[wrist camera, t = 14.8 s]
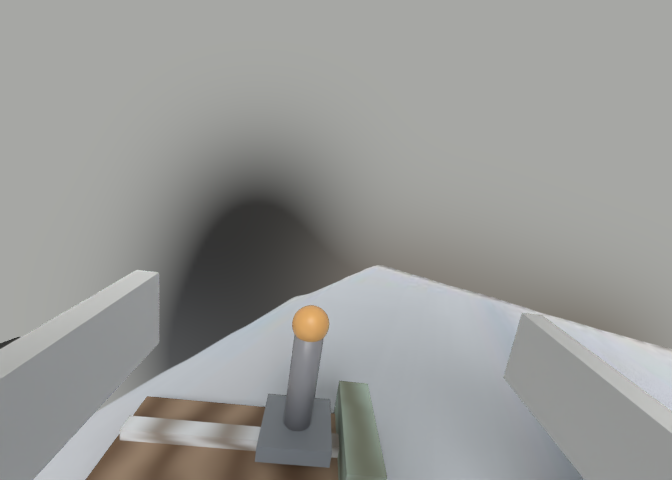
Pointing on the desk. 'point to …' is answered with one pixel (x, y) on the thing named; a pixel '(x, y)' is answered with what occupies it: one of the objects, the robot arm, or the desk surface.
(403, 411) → the desk surface
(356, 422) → the track bed
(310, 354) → the lever
